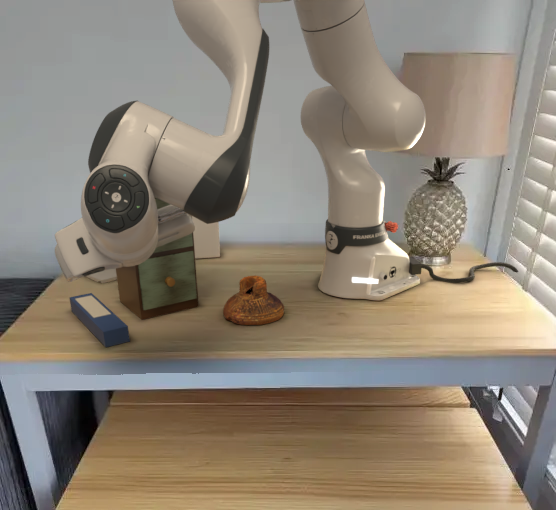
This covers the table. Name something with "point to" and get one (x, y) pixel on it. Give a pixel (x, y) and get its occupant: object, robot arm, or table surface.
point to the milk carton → (206, 239)
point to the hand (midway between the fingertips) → (129, 252)
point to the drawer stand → (161, 279)
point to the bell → (253, 303)
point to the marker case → (99, 320)
